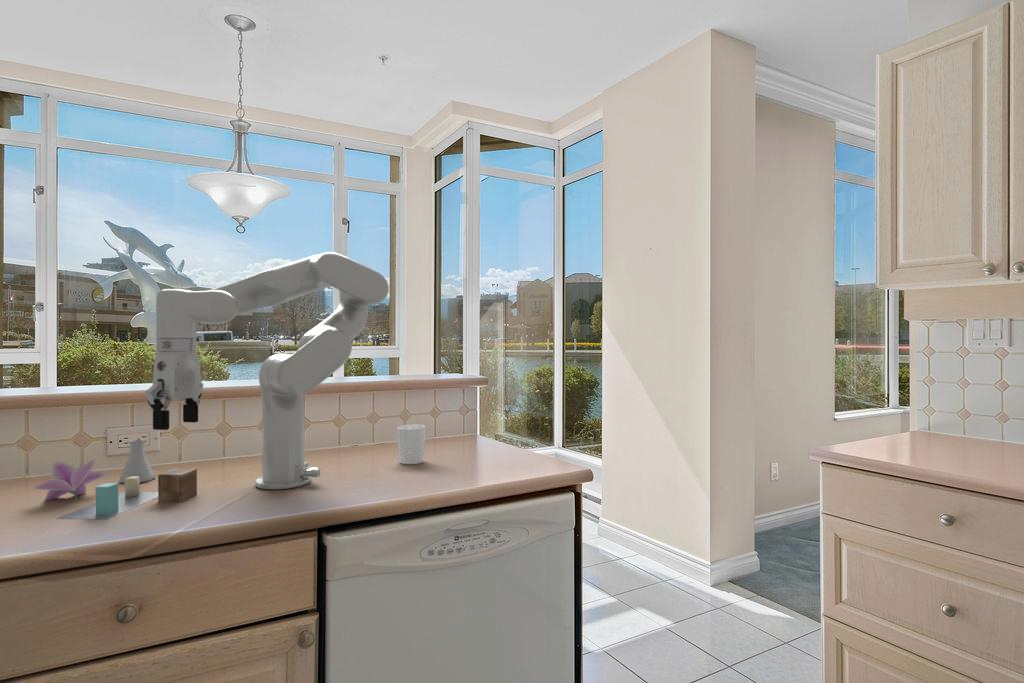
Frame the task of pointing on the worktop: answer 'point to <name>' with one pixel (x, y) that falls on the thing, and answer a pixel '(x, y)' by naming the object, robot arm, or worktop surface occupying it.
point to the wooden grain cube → (177, 485)
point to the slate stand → (125, 502)
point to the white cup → (411, 443)
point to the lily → (69, 480)
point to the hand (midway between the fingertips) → (176, 425)
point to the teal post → (107, 498)
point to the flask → (137, 463)
